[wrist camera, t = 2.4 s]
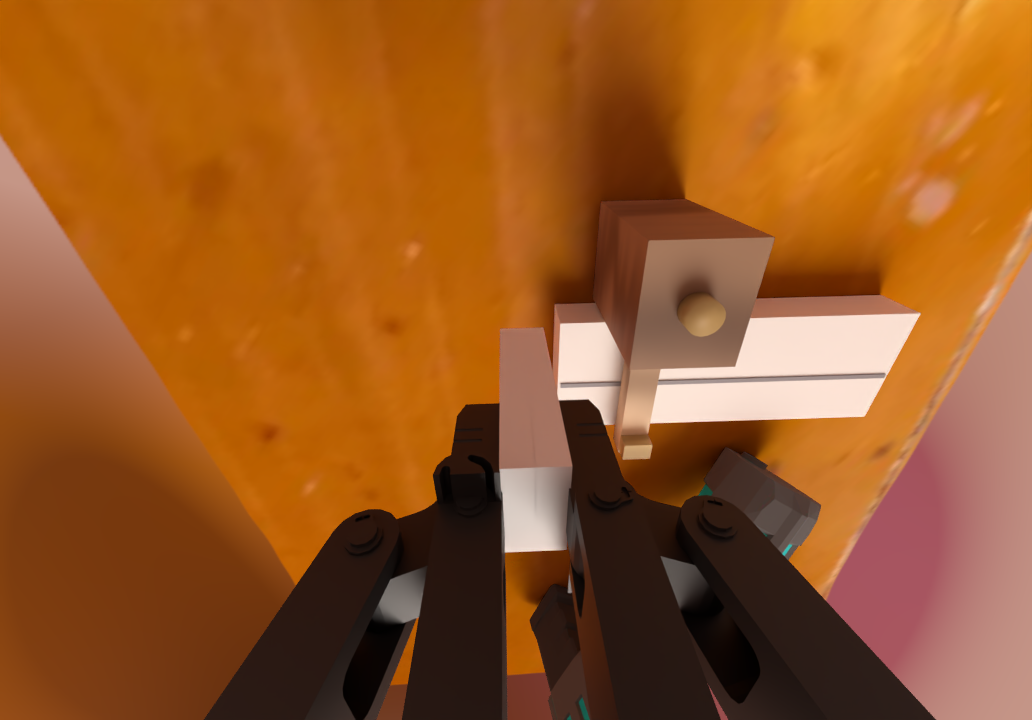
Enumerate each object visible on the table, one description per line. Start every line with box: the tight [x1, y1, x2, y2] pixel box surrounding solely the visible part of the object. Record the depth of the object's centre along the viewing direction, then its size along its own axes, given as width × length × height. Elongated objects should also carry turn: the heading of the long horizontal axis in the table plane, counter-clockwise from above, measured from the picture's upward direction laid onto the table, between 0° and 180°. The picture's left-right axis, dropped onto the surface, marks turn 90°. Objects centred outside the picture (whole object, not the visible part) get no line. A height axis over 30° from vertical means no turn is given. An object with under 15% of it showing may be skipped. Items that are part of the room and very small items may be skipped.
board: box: [553, 295, 921, 425], centre depth 28 cm, size 8×22×3 cm, turn 91°
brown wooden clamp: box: [593, 199, 775, 460], centre depth 23 cm, size 15×5×10 cm, turn 1°
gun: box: [530, 447, 821, 720], centre depth 37 cm, size 6×29×15 cm, turn 149°
